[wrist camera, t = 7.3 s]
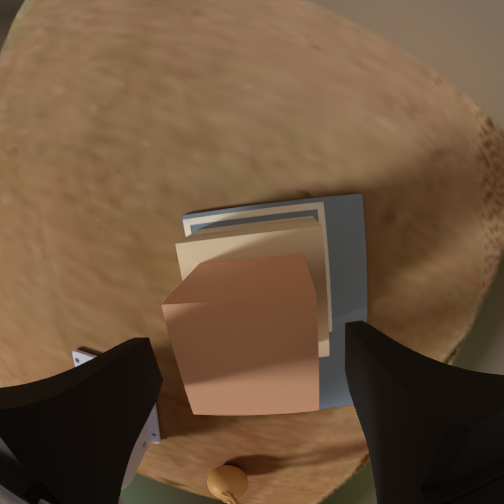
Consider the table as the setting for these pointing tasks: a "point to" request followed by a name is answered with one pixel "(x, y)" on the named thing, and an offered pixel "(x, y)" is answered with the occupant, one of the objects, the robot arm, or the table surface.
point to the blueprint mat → (337, 269)
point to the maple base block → (264, 253)
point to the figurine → (227, 483)
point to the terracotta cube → (247, 336)
